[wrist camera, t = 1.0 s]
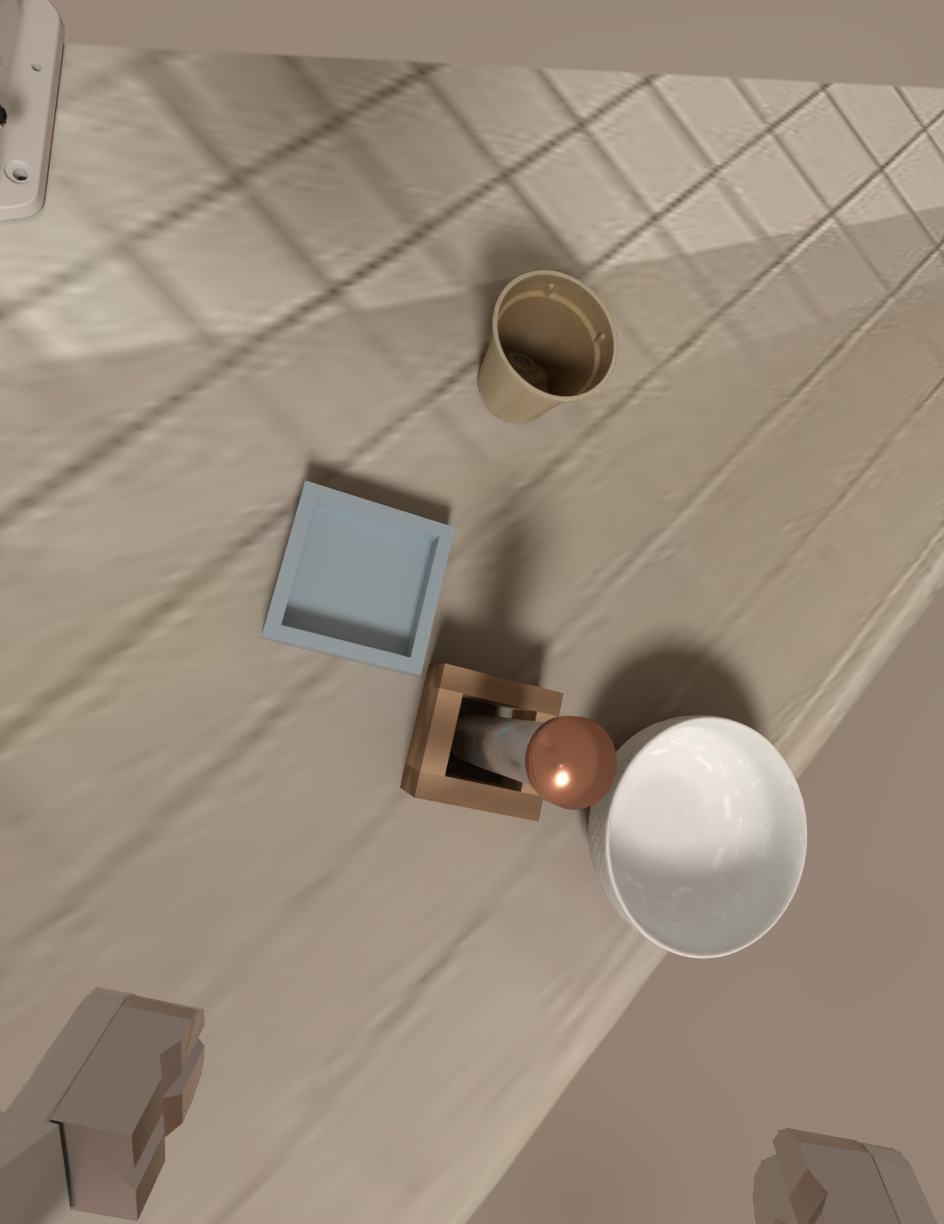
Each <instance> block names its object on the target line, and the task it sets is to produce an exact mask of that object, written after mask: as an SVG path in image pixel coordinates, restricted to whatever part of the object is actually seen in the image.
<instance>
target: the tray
mask: <svg viewBox="0 0 944 1224" xmlns="http://www.w3.org/2000/svg"><path fill="white" fill-rule="evenodd" d="M454 532H455V527H452V526H449V525H446V524H443V523H439V522H436V521H433V520H430V519H427V518H423V517H420V516H417V515H414V514H411V513H407V512H404V511H401V510H398V509H395V508H391V507H388V506H385V505H382V504H379V503H376V502H372V501H369V500H366V499H363V498H360V497H356V496H353V495H350V494H347V493H344V492H340V491H337V490H334V489H331V488H328V487H325V486H321V485H318V484H315V483H312V482H309V481H305V484H304V487H303V491H302V494H301V498H300V501H299V505H298V509H297V512H296V516H295V519H294V523H293V526H292V530H291V533H290V537H289V541H288V544H287V548H286V551H285V555H284V558H283V562H282V565H281V569H280V572H279V576H278V580H277V583H276V587H275V590H274V594H273V597H272V601H271V604H270V608H269V611H268V615H267V619H266V622H265V626H264V629H263V633H262V639H266V640H270V641H274V642H278V643H282V644H286V645H290V646H295V647H299V648H303V649H307V650H311V651H315V652H319V653H323V654H327V655H331V656H335V657H339V658H344V659H348V660H352V661H356V662H360V663H364V664H368V665H372V666H376V667H380V668H384V669H388V670H393V671H397V672H401V673H405V674H409V675H421V672H422V668H423V664H424V659H425V655H426V651H427V647H428V642H429V638H430V634H431V630H432V625H433V621H434V617H435V613H436V608H437V604H438V600H439V596H440V591H441V587H442V583H443V579H444V574H445V570H446V566H447V562H448V557H449V553H450V549H451V545H452V540H453V536H454Z"/></svg>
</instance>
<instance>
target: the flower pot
mask: <svg viewBox="0 0 944 1224" xmlns="http://www.w3.org/2000/svg"><path fill="white" fill-rule="evenodd" d="M492 334H493V336H492V338H491V341H490V344H489V347H488V350H487V352H486V355H485V358H484V360H483V363H482V365H481V368H480V370H479V375H478V388H479V391H480V393H481V395H482V397H483V399H484V402H485V404H486V406H487V408H488V409H489V410H490V411H491V412H492V413H493V414H495V415H496V416H497V417H499V418H501V419H502V420H505V421H507V422H511V423H517V424H518V423H526V422H530V421H533V420H535V419H537V418H538V417H539V416H541V415H543V414H544V413H546V412H547V411H549V410H551V409H552V408H554V407H556V406H557V405H559V404H561V403H563V402H572V401H577V400H581V399H584V398H586V397H588V396H590V395H592V394H594V393H595V392H597V391H598V390H599V389H600V388H601V387H603V386H604V384H605V383H606V382H607V380H608V379H609V377H610V376H611V374H612V371H613V369H614V366H615V363H616V358H617V351H618V341H617V333H616V330H615V326H614V323H613V319H612V318H611V315H610V313H609V311H608V309H607V308H606V306H605V305H604V303H603V302H602V300H601V298H599V296H597V294H596V293H595V292H594V291H593V290H592V289H590V287H588V286H587V285H586V284H584V283H582V282H581V281H579V280H578V279H577V278H574V277H572V276H569V275H567V274H564V273H561V272H557V271H552V270H535V271H531V272H527V273H524V274H522V275H520V276H518V277H516V278H515V279H513V280H512V281H511V282H510V283H508V285H507V286H506V287H505V288H504V289H503V291H502V292H501V294H500V295H499V297H498V299H497V302H496V304H495V307H494V311H493V317H492ZM515 357H522V358H524V359H526V360H527V362H528V363H529V365H527V364H526V363H523V362H521V361H520V360H516V359H515Z"/></svg>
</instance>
